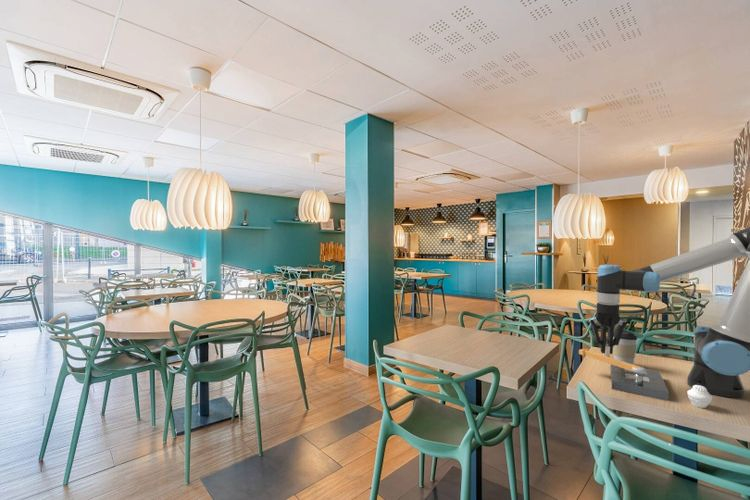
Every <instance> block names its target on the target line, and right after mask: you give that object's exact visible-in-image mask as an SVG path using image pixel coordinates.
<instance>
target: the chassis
mask: <svg viewBox="0 0 750 500" xmlns="http://www.w3.org/2000/svg"><path fill="white" fill-rule="evenodd" d="M610 380H611V381H610V382H611V390H615V391H620V392H625V393H630V394H634V393H635V394H636V395H640V396H645V397H650V398H655V399H659V400H664V401H669V393H670V392H669V390H668V387H667V385H666V382H665V381H664V379H663V377H662V374H661V372H660V370H656V369H651V368H646V374H638V373H634V372H633V371H630V370H627V369H624V368H621V367H618V366H615V365H612V364H610ZM635 394H634V395H635Z"/></svg>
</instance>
